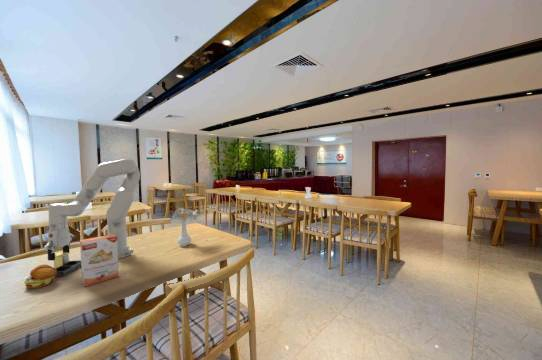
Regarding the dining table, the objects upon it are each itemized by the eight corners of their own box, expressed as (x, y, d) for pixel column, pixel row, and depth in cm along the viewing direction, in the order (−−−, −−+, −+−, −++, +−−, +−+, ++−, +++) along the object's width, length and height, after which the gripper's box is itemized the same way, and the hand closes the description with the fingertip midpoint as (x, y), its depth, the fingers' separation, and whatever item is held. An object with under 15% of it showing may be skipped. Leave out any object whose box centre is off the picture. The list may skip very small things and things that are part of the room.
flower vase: (201, 242, 170) (200, 207, 168) (179, 250, 155) (178, 212, 153) (189, 239, 177) (188, 206, 175) (167, 246, 162) (165, 210, 160)
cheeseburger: (37, 279, 117) (41, 259, 117) (60, 283, 118) (64, 264, 118) (17, 290, 107) (21, 268, 107) (42, 294, 108) (47, 273, 108)
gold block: (69, 264, 135) (68, 252, 134) (63, 267, 130) (62, 255, 130) (60, 264, 134) (59, 252, 134) (53, 268, 130) (52, 255, 129)
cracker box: (84, 287, 109) (81, 242, 108) (82, 282, 114) (79, 239, 112) (119, 276, 119) (117, 235, 118) (116, 273, 123) (114, 233, 122)
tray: (84, 264, 134) (83, 260, 134) (64, 276, 120) (63, 271, 120) (70, 265, 134) (70, 260, 133) (48, 277, 120) (48, 272, 119)
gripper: (52, 230, 122) (53, 263, 123) (77, 222, 139) (77, 251, 140) (36, 230, 122) (37, 263, 123) (63, 222, 139) (64, 251, 140)
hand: (59, 256), depth 131 cm, fingers open, 9 cm apart
